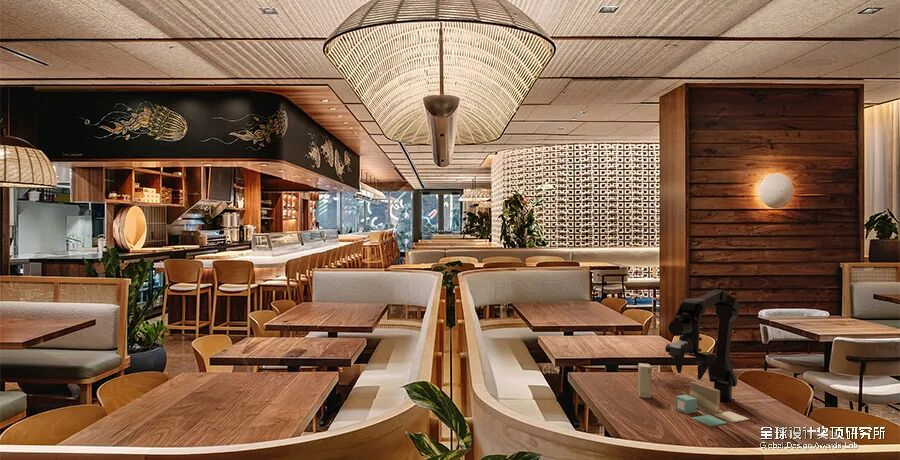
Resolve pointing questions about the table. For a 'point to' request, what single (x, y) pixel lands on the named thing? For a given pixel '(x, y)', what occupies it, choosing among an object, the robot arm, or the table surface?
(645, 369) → the skincare box
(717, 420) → the teal coaster
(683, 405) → the cube
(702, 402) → the screen
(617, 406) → the table surface
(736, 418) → the ivory coaster
